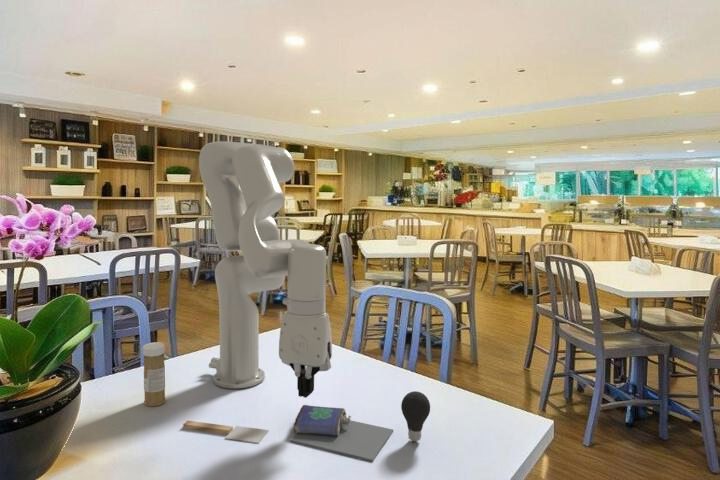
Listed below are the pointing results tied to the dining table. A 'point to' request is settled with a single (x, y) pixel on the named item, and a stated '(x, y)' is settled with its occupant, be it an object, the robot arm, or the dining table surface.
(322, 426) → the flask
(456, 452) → the dining table surface
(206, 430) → the turner
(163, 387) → the sprinkles bottle
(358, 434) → the slate board
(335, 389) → the dining table surface
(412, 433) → the light bulb
